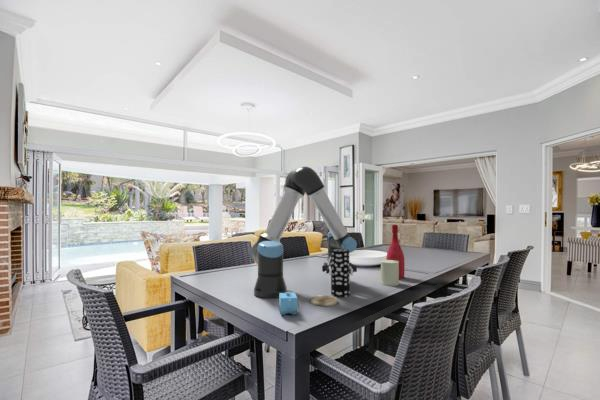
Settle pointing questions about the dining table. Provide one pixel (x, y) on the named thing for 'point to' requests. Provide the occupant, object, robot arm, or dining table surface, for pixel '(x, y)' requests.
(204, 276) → the dining table surface
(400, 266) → the wine bottle
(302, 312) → the dining table surface
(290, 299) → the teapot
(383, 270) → the can
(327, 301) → the birch coaster
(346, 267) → the white-spotted black cylinder
